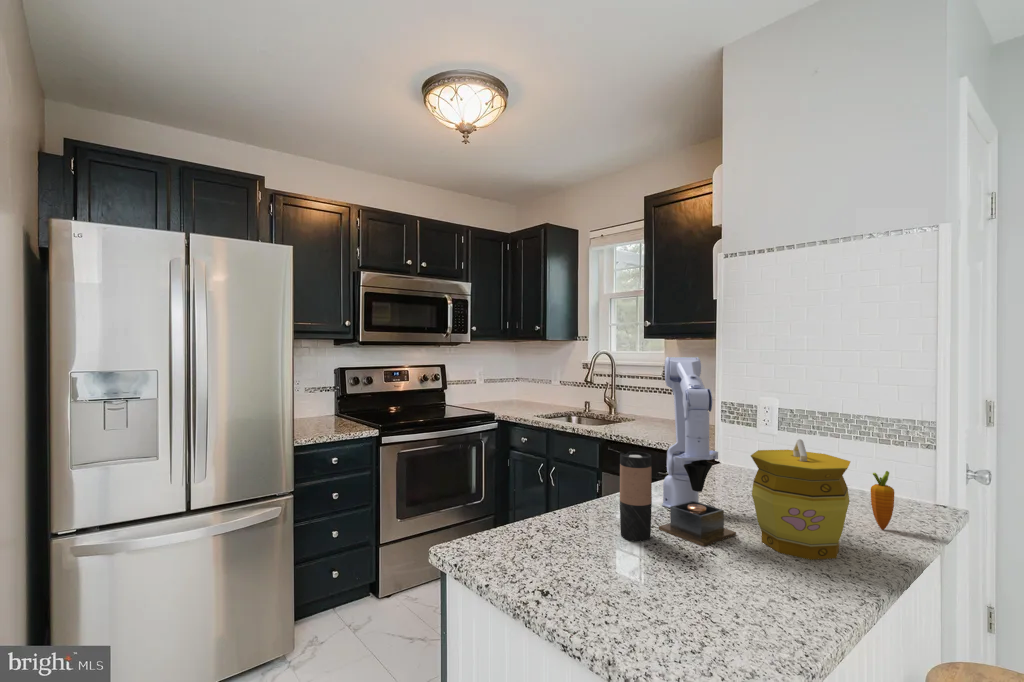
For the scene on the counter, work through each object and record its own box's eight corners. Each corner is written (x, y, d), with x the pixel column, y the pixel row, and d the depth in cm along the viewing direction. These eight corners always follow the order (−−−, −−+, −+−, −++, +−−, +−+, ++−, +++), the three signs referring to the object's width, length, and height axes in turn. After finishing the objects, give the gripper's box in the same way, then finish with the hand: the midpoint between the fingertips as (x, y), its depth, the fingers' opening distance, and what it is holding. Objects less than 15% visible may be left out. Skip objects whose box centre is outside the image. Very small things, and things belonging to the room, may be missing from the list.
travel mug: (652, 543, 118) (652, 458, 118) (619, 540, 120) (619, 457, 120) (650, 531, 125) (650, 452, 126) (619, 529, 127) (619, 450, 127)
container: (834, 534, 124) (834, 434, 125) (870, 571, 104) (870, 450, 104) (742, 526, 130) (742, 430, 130) (759, 559, 110) (759, 445, 110)
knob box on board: (658, 529, 127) (658, 505, 127) (691, 519, 134) (691, 497, 134) (703, 546, 116) (703, 520, 116) (736, 535, 123) (736, 510, 124)
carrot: (872, 531, 127) (872, 471, 127) (869, 525, 131) (868, 467, 131) (896, 534, 124) (896, 474, 125) (892, 528, 129) (892, 470, 129)
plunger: (677, 525, 126) (677, 505, 126) (693, 520, 130) (694, 501, 130) (699, 533, 121) (699, 512, 121) (716, 528, 124) (716, 508, 124)
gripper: (692, 442, 118) (692, 499, 118) (728, 436, 126) (728, 490, 126) (668, 437, 124) (668, 492, 124) (704, 432, 132) (704, 483, 132)
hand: (697, 490), depth 126 cm, fingers closed
